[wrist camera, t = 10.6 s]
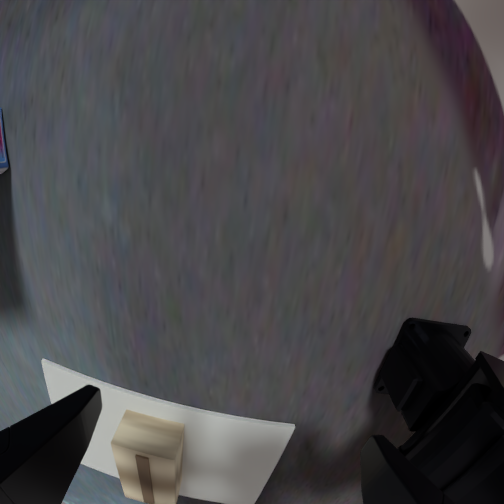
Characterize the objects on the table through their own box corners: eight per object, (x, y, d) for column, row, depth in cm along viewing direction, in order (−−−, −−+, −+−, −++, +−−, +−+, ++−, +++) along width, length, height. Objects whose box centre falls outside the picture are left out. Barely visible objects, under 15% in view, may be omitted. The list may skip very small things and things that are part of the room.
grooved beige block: (181, 479, 25) (174, 511, 21) (135, 468, 25) (124, 498, 21) (184, 423, 22) (174, 462, 18) (126, 409, 22) (109, 444, 18)
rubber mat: (294, 424, 23) (295, 427, 22) (252, 504, 27) (252, 506, 27) (43, 358, 22) (41, 360, 21) (70, 456, 26) (69, 458, 26)
